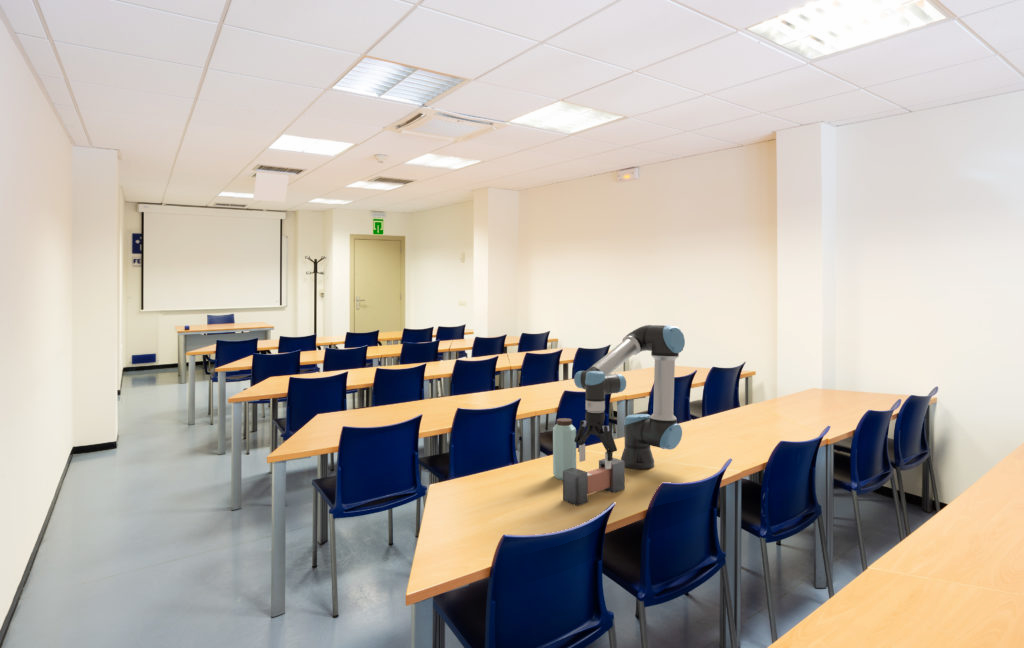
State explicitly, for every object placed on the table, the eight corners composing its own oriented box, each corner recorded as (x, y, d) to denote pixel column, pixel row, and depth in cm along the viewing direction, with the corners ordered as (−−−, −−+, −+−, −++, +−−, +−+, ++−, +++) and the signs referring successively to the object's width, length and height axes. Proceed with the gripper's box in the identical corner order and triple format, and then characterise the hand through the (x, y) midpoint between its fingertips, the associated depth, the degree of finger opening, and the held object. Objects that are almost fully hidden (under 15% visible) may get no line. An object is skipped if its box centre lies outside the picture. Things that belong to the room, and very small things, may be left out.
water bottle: (575, 481, 230) (574, 422, 229) (551, 480, 232) (551, 422, 231) (577, 474, 240) (576, 417, 239) (554, 472, 242) (554, 417, 241)
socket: (573, 496, 212) (573, 467, 212) (587, 502, 207) (587, 472, 206) (563, 500, 209) (562, 470, 208) (576, 505, 203) (576, 475, 202)
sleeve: (610, 484, 226) (610, 457, 225) (624, 489, 220) (624, 461, 219) (599, 488, 221) (598, 460, 221) (613, 493, 216) (612, 464, 215)
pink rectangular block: (611, 481, 223) (611, 464, 223) (618, 484, 220) (618, 466, 220) (580, 491, 212) (580, 473, 212) (587, 494, 209) (587, 475, 209)
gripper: (565, 407, 221) (565, 459, 221) (613, 417, 201) (612, 474, 202) (578, 405, 225) (578, 456, 226) (626, 414, 206) (626, 470, 207)
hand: (594, 464), depth 214 cm, fingers open, 13 cm apart
